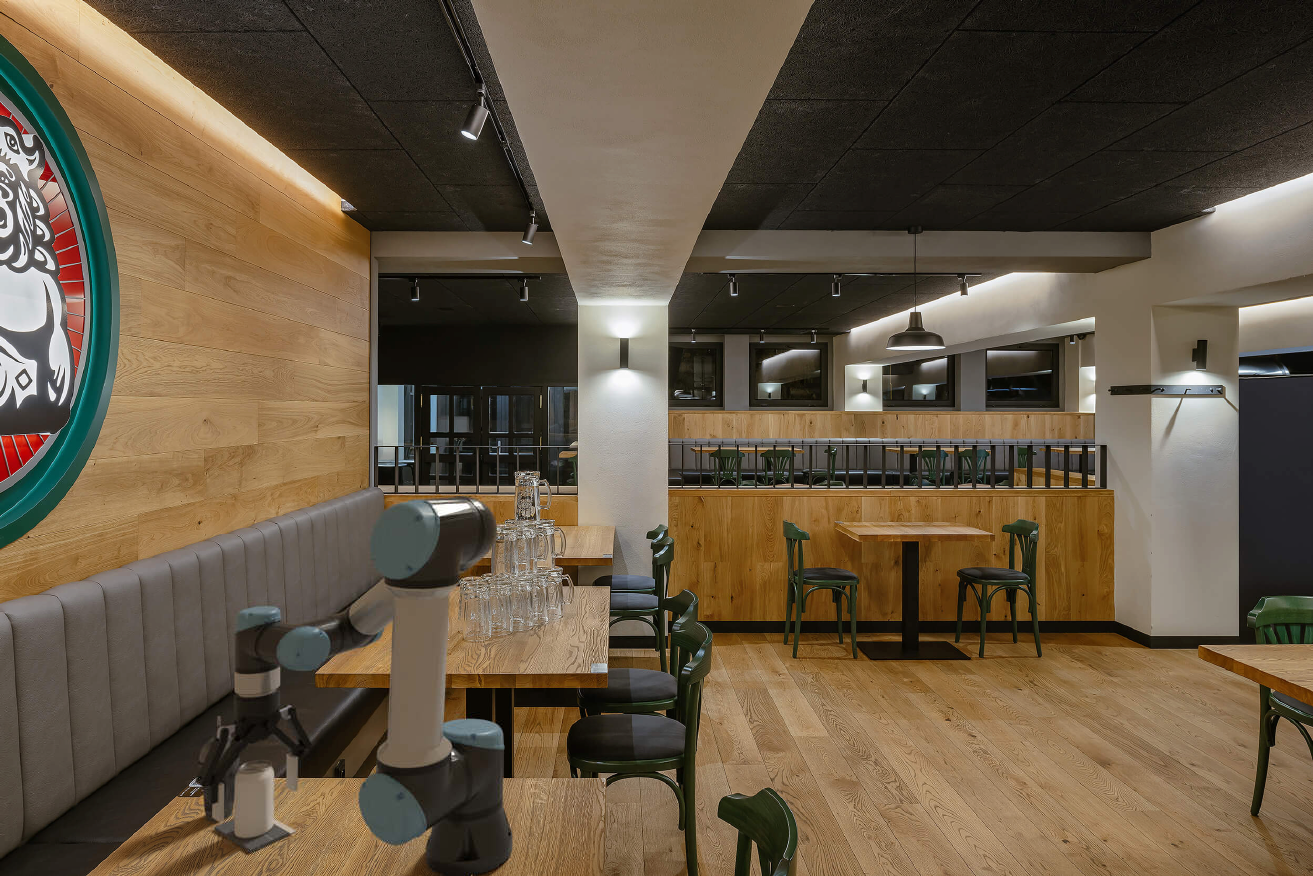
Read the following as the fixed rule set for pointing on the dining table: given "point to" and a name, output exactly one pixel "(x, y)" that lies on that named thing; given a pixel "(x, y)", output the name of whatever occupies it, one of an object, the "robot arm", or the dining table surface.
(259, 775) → the can
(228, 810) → the beverage cup
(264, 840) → the dark grey flat slab
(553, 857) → the dining table surface
